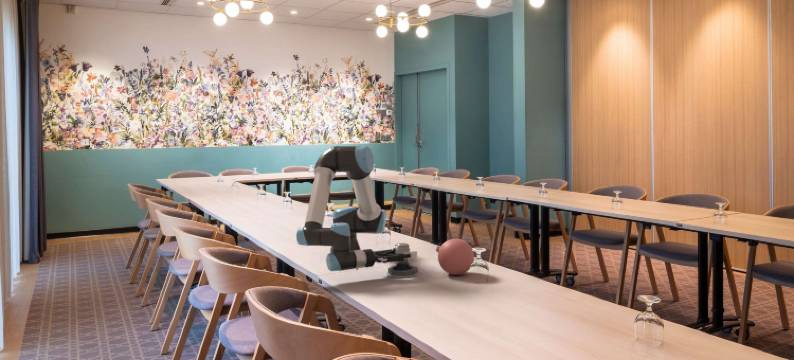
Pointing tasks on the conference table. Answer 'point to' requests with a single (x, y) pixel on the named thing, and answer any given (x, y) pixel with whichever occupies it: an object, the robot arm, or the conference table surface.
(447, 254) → the terracotta rubber ball
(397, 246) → the cylinder
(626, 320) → the conference table surface
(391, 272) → the ring plate
